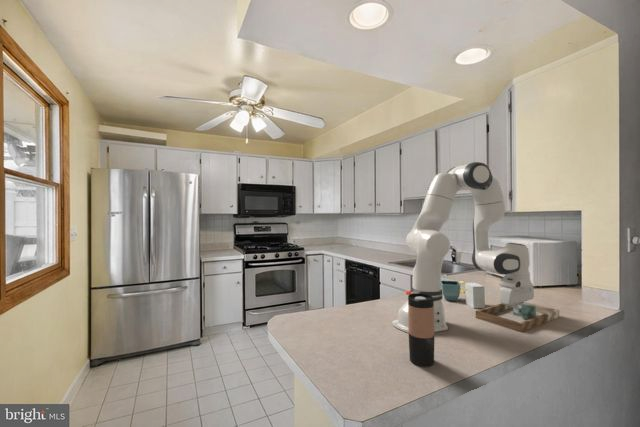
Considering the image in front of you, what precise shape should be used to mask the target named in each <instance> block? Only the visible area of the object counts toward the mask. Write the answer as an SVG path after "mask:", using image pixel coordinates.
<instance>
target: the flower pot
mask: <svg viewBox="0 0 640 427" xmlns="http://www.w3.org/2000/svg"><path fill="white" fill-rule="evenodd" d="M459 283H460V281H458V280H441V289H442V293H443V295H442V296H443V297H444V299H445V301H449V302H450V301H453V302H456V301H458V299H459V298H460V294H461V292H460V288H461V284H459Z"/></svg>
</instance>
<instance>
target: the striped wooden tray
mask: <svg viewBox="0 0 640 427" xmlns="http://www.w3.org/2000/svg"><path fill="white" fill-rule="evenodd" d="M524 303H525V304H529V305H533V306H536V313H538V314H540V315H536V317H532V318H528V319H526V320H523V321H521V322H518V321H515V320H512V319H508V318H505V317H501V316H498V315H496V313H500V312H503V311H507V310H510V309H513V305H511V306H507V305H503V304H502V303H501V302H500V303H498V304H496V305H492V306H488V307H485V308H479V309H477V310H475V318H476V319H477V320H478V319H479V320H481V321H484V322H488V323H491V324H495V325H497V326H499V327H504V328H506V329H508V330H513V331H516V332H519V333H522V332H525V331H527V330H528V331H529V330H530V329H532V328H535V327H537V326H539V325H543V324H545V323H548V322H550V320H551V321H553V320H556V319H558V318H560V309H555V308H552V307H548V306H543V305H540V304H534V303H530V302H527V301H524ZM543 313H544V314H543ZM494 314H495V315H494Z"/></svg>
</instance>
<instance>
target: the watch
mask: <svg viewBox="0 0 640 427" xmlns="http://www.w3.org/2000/svg"><path fill="white" fill-rule="evenodd" d="M465 283H466V281H462V280H461V281H459V284H460V285H461V284H463V285H464V286H465ZM460 293H465V290H464V291H463V290H462V289H461V287H460Z"/></svg>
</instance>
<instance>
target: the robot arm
mask: <svg viewBox="0 0 640 427" xmlns="http://www.w3.org/2000/svg"><path fill="white" fill-rule="evenodd" d="M458 191H470V193H471V194H472V196H473V197H472V198H473V204H474V217H473V220H472V240H473V241H472V242H473V250H472V254H471V255H472V256H471V261H472V262H471V263H472V265H473V266H474V267H475V269H477V270H479V271H482V272H488V273H493V274H498V275H502V276H503V275H504V276H503V277H502V278H501V279H500V280H498V285H499V286H500V288H499V301H500V304H501V303H502V304H503V305H507V306H511V305H513V307H514V312H515V313H520V312H522V307H523V304H524V302H527V301H531V300H533V299H534V298H535V292H534V285H533V283H532V281H531V272H530V270H529V269H530V268H529V267H530V265H531V264H530V263H531V262H530V251H529V248H528V247H527V245H525V244H521V243H515V242H506V244H505V246H504V247H502V248H500V249H498V250H493V249H491V248H490V246H489V230H490V228H491V226H493V225H495V224H496V223H499V222H500V221H501V220H502V219H503V217H504V216H505V213H506V205H505V200H504V195H503V190H502V188H501V185H500V183H499V180H498V179H496V178H495V177H493V174H492V172H491V169H490V168H489V166H488V165H487V164H486V163H484V162H479V161H477V162H476V161H475V162H474V161H473V162H469V163H463V164H461V165H460V164H459V165H458V166H454V167H451V168H450V169H449V170H448V171H447V172H439V173H437V174H435V175H434V177H433V179H432V180H431V183H430V185H429V187H428V190H427V192H426V195H425V198H424V202H423V205H422V207H421V211H420V214H419V216H418V218H417V219H416V221H415V223H414V225H413V226H412V229H411V230H410V231H409V232H408V233H407V235H406V239H405V242H406V245H407V247H408V248H409V249H410V250H411V251H412V252H413V253H415V254H417V255H416V256H417V257H416V261H415V265H414V267H413V268H412V288H411V290H409V289H406V290H405V295H406V296H409V295H410V294H417V293H418V294H427V295H430V296H432V297H433V299H434V333H435V332H436V333H437V332H442V331H447V330H449V328H448V327H449V326H448V325H447V322H446V315H445V314H446V313H445V307H444V304H443V300H442V299H443V296H444V295H443V293H442V289H441V281H442V267H443V263H444V259H445V256H446V255H447V254H448V253H449V251H450V248H451V242H450V239H449V238H448V237H447V235H445V234H444V233H442V232H440V230H441V229H442V227H443V226H444V225H445V223H447V222H448V220H449V219H450V215H451V211H452V208H453V205H454V203H455V199H456V195H457V193H458ZM391 325H392V326H394V327H395V328H397V329H398V330H400V331H403V332H405V333H407V334H408V300H407V301H406V302H404V304H403V305H402V306H401V307H400V308H399V309H398V313H397V319H394V320H392V321H391Z"/></svg>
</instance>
